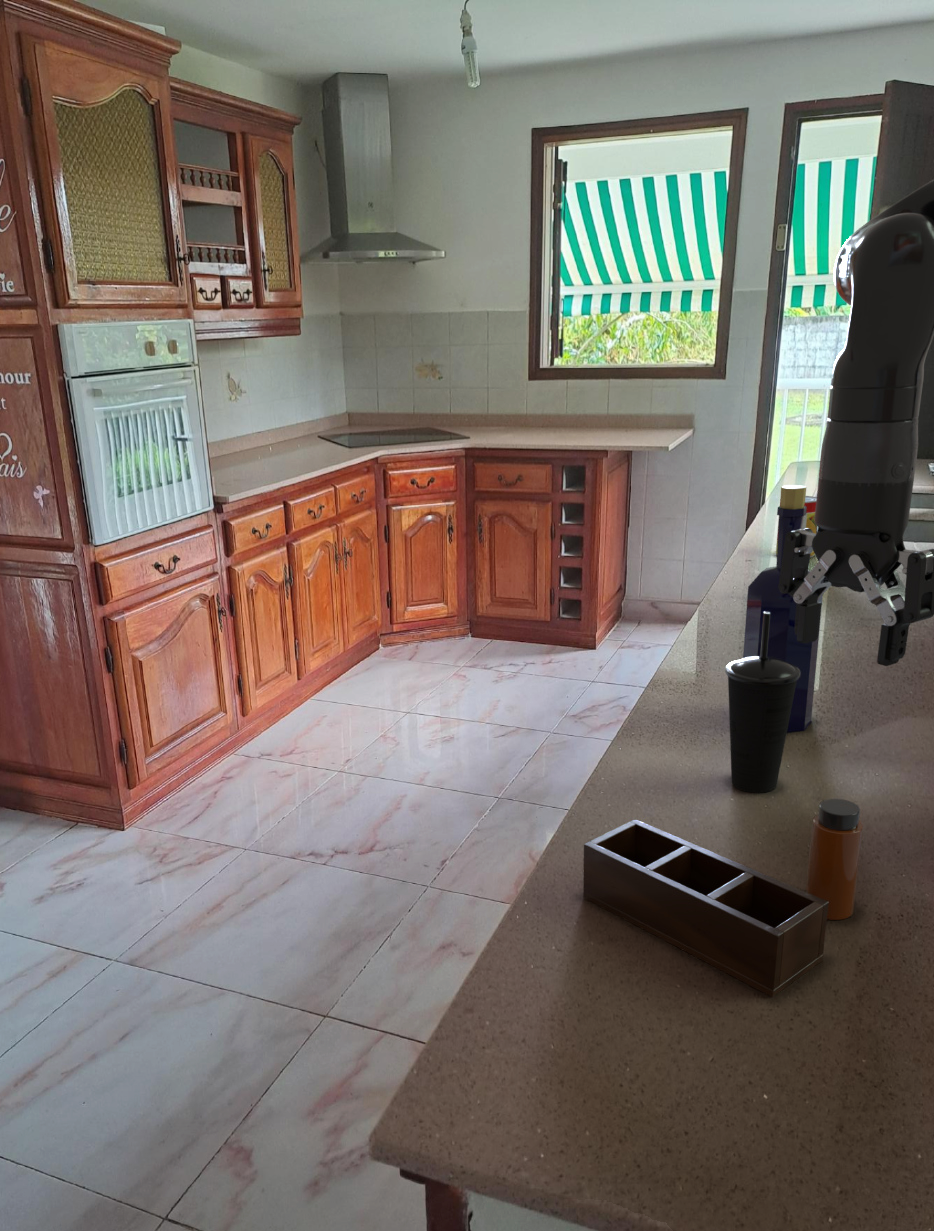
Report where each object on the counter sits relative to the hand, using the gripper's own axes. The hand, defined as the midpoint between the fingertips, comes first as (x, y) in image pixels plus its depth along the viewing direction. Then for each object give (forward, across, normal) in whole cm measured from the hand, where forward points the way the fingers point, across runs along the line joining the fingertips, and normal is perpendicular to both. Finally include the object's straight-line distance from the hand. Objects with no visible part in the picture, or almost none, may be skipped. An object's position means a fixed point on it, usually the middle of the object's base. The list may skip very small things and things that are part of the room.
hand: (845, 652), depth 91 cm
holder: (+20, -3, +20) cm, 29 cm away
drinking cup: (+20, +14, -6) cm, 25 cm away
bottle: (+20, +25, -22) cm, 39 cm away
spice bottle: (+20, -7, +9) cm, 23 cm away
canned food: (+20, +86, -100) cm, 133 cm away
